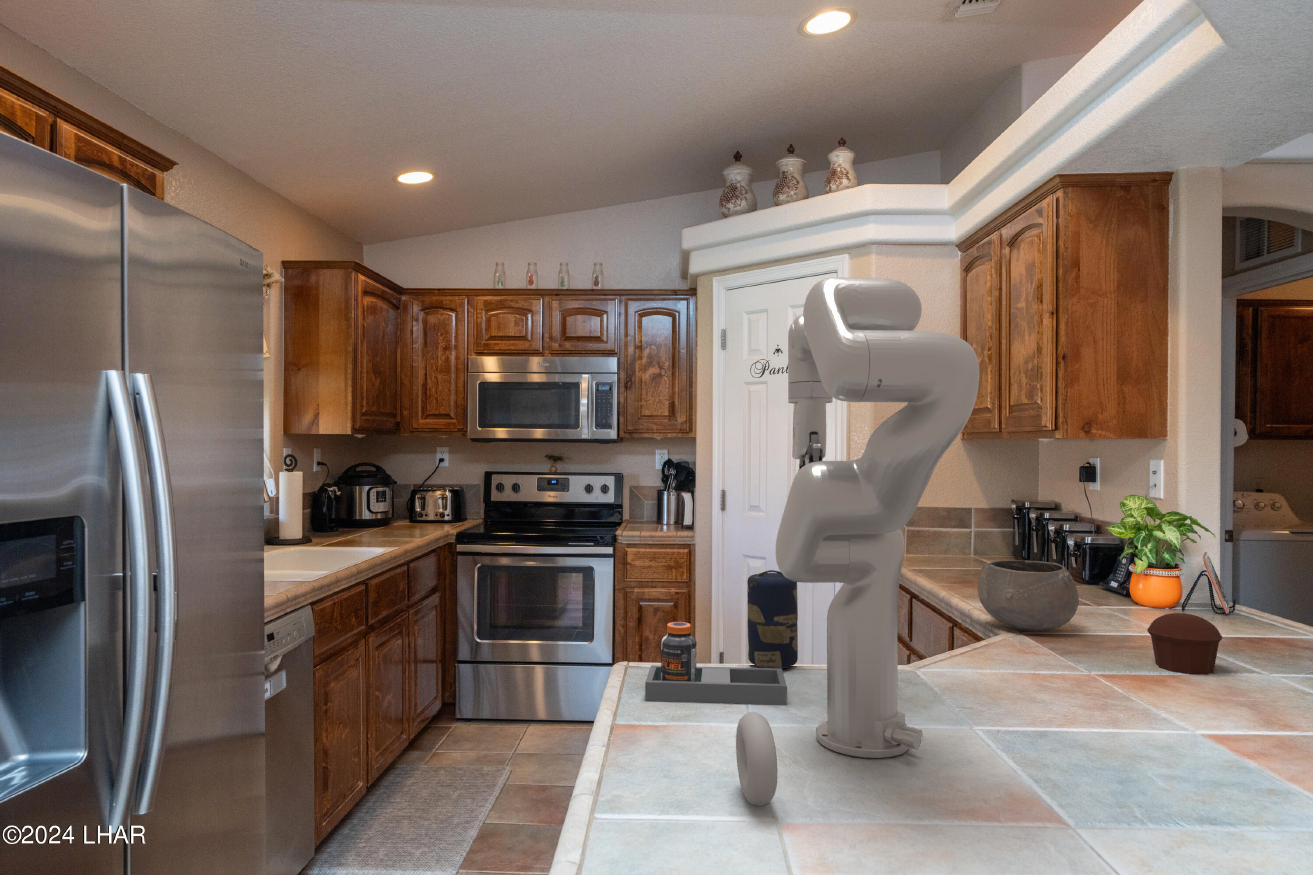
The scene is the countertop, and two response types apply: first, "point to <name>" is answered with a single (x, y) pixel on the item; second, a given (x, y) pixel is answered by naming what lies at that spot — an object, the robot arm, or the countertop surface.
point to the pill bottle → (678, 653)
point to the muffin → (1184, 643)
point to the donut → (756, 758)
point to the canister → (772, 620)
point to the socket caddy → (720, 686)
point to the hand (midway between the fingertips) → (810, 493)
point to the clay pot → (1028, 594)
